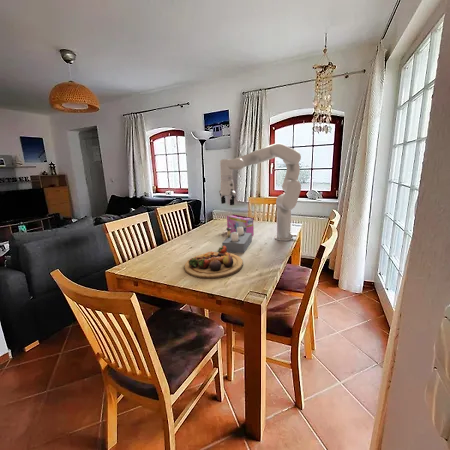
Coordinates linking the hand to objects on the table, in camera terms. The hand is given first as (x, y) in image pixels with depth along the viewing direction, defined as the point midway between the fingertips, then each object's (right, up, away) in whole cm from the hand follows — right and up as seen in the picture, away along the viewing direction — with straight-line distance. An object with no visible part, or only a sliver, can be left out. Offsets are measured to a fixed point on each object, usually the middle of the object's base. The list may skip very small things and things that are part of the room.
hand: (227, 204), depth 166 cm
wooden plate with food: (-8, -37, -31) cm, 49 cm away
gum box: (+10, -21, +28) cm, 36 cm away
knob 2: (+9, -22, +4) cm, 24 cm away
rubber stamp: (+1, -22, -1) cm, 22 cm away
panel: (+7, -28, -1) cm, 29 cm away
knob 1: (+5, -25, -9) cm, 27 cm away
